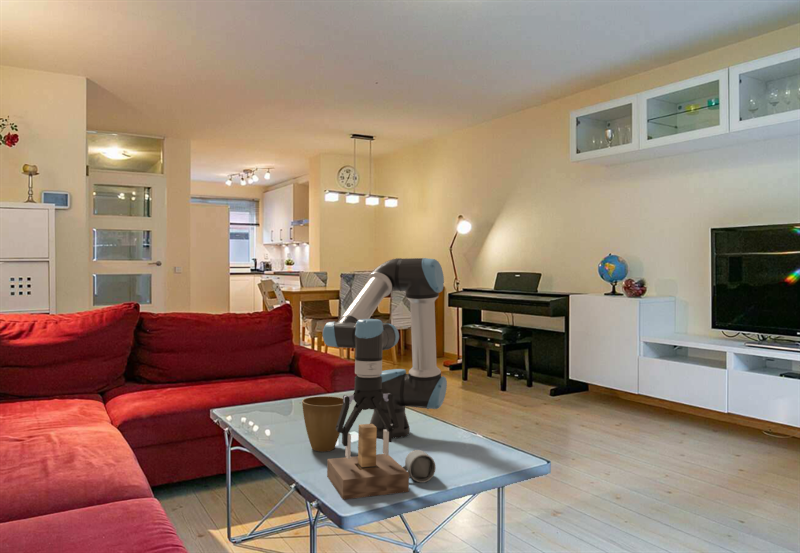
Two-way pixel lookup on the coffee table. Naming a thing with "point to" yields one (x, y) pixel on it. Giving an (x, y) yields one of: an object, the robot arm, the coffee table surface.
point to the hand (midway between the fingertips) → (367, 455)
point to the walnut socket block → (367, 477)
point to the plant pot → (322, 421)
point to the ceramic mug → (419, 466)
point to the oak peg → (367, 446)
